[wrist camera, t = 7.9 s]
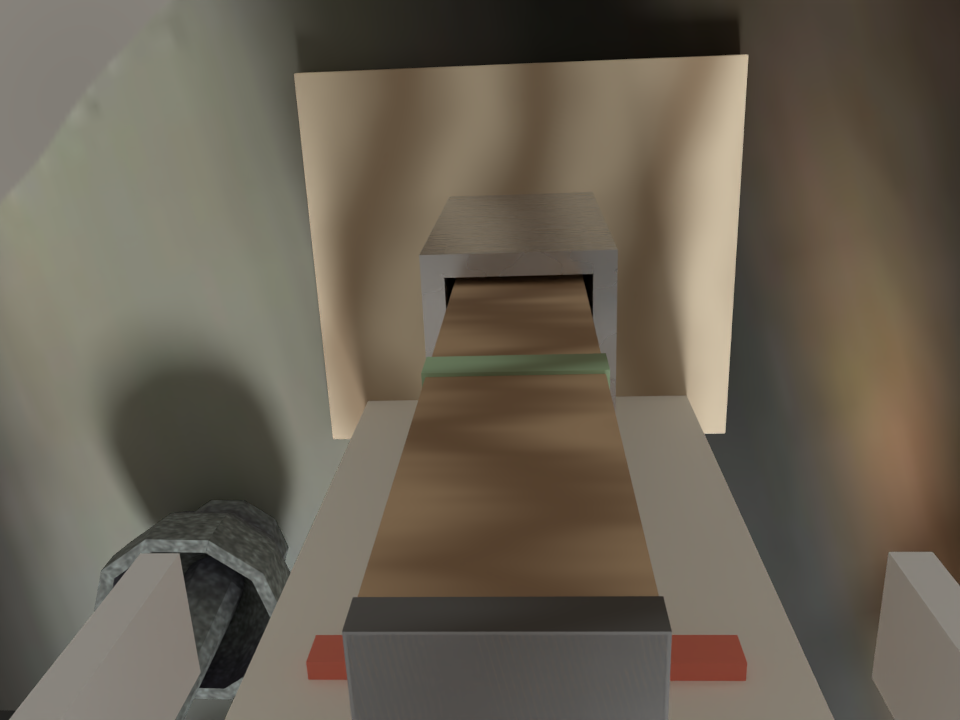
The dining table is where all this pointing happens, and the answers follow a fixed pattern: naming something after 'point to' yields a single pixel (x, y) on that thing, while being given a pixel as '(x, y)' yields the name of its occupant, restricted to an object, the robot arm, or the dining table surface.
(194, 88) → the dining table surface
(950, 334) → the dining table surface
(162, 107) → the dining table surface
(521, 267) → the metal sleeve
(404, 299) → the birch base plate
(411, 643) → the oak post
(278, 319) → the dining table surface
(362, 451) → the board
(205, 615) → the mortar and pestle
